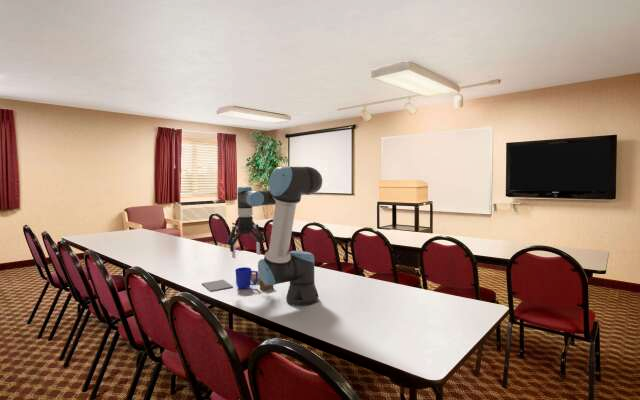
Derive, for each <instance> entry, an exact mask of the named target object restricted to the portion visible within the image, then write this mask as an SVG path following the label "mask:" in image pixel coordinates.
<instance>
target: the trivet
mask: <svg viewBox="0 0 640 400" xmlns="http://www.w3.org/2000/svg"><path fill="white" fill-rule="evenodd" d="M201 285H202V286H203V287H204V288H205V289H207V290H208V291H209V292H211V293H212V292H216V291H222V290H226V289H231V288H232V289H233V288H234V286H233V285H231V284H230V283H229V282H227V281H226V280H225V279H219V280H213V281H206V282H202V283H201Z"/></svg>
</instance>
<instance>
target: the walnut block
mask: <svg viewBox="0 0 640 400" xmlns="http://www.w3.org/2000/svg"><path fill="white" fill-rule="evenodd" d="M259 289H260V290H263V291H269V290H272V289H274V285H265V284H264V283H263V282H262V280H261V279H260V282H259Z"/></svg>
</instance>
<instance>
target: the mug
mask: <svg viewBox="0 0 640 400" xmlns="http://www.w3.org/2000/svg"><path fill="white" fill-rule="evenodd" d="M252 272H255V273H256V281H255V283H253V282H252V281H251V273H252ZM257 278H258V270H252V267H248V266H247V267H246V266H245V267H238V268H236V269H235V282H236V281H237V283H236V287H237V289H239V290H246V289H249V288H250V287H251V286H255V285H256V284H257V283H258V282H257Z"/></svg>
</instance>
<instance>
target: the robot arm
mask: <svg viewBox="0 0 640 400" xmlns="http://www.w3.org/2000/svg"><path fill="white" fill-rule="evenodd" d="M268 186H269V187H268V189H269V190H253V189H252V188H253V187H252V186H238V187H237V193H236V194H237V216H238V217H237V225H235V226H234V225H232V226H231V232H230V234H229V235H228V238H227V241H226V245H228V246H229V251H230V252H231V258H233V259H236V245H235V244H236V243H237V241H238V240H239V239H240V237H241V236H242V235H247V234H249V235H251V236H252V237H253V238H254V239H255V240H256V242H255V243H256V244H255V245H256V246H255V247H256V249H255V250H256V255H258V256H260V255H261V250H260V249H261V248H262V243H263V242H264V241H265V237H264V235H263V233H262V231H261V229H260V227H259V224H257V223H255V224H254V220H253V215H254V214H253V212H254V211H253V207H259V206H274V205H275V206H274V212H273V218H272V226H271V233H270V240H269V246H268V250H267V251H265V253H264V257H263V258H262V259H260V260H258V262H257V271H258V272H259V275H260V278H261V280H262V282H263V283H264V284H265V285H273V286H275V285H278V284H279V285H280V284H283V283H288V282H289V286H288V290H287V293H286V296H285V299H286V303H287V304H289V305H291V306H292V305H293V306H297V307H298V306H299V307H303V306H304V307H305V306H306V307H307V306H311V305H314V304H317V303H318V302H319V294H318V290H317V288H316V284H315V256H314V254H313V253H312V252H308V251H303V250H291V251H289V250H290V246H291V245H290V244H291V239H292V232H293V226H294V219H295V215H296V214H295V213H296V209H297V208H296V207H297V204H299V203H300V202H301V199H302V196H304V195H306V196H307V195H308V196H309V195H312V194H316V193H317V192H319V191H320V190H321V188H322V187H323V177H322V174H321V173H320V171H318V170H317V169H316V168H314V167H311V166H288V165H285V166H277V167H276V168H274V169H273V170H272V172H271V174H270V177H269V180H268ZM253 229H255V232H256V233H255V232H254V231H253ZM237 230H238V231H237ZM236 232H237V233H236ZM235 234H236V235H235Z"/></svg>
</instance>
